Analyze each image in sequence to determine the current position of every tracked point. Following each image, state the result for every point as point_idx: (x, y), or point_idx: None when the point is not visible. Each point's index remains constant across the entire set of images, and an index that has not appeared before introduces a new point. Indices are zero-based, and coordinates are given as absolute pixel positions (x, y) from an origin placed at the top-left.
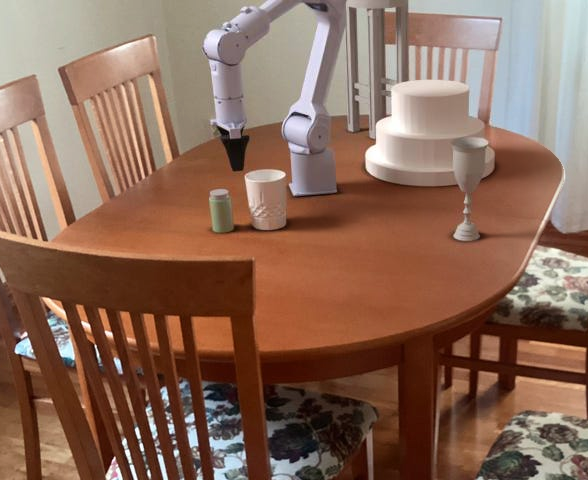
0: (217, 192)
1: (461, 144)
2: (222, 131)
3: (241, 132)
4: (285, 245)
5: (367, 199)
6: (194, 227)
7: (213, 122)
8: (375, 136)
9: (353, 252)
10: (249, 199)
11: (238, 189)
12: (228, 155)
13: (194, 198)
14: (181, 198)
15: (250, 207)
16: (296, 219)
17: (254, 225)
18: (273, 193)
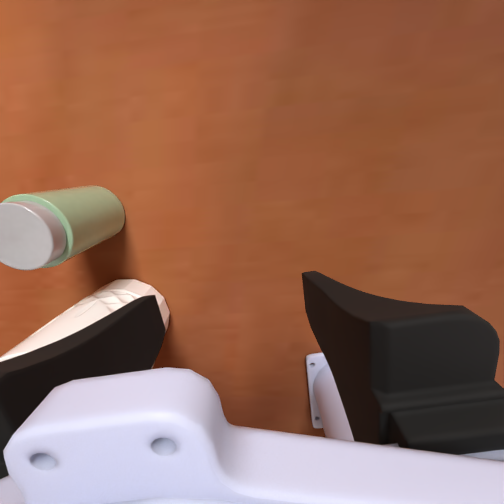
0: (9, 232)
1: None
2: (356, 340)
3: (352, 434)
4: (16, 343)
5: None
6: (105, 132)
7: (14, 454)
8: None
9: None
10: (57, 317)
11: (398, 230)
12: (79, 332)
13: (352, 106)
14: (362, 59)
15: (76, 304)
16: (166, 359)
17: (103, 286)
18: None
